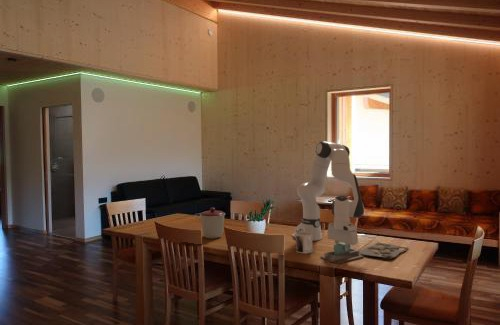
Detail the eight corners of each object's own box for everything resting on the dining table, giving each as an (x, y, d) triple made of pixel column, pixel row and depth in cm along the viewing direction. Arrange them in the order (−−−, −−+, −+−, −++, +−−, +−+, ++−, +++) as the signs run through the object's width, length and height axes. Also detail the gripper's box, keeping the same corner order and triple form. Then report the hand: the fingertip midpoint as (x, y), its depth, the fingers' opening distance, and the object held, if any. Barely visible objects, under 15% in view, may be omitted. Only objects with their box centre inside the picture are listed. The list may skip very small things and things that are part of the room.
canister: (200, 240, 268) (199, 210, 266) (199, 234, 285) (199, 205, 284) (226, 239, 270) (226, 209, 269) (224, 233, 288) (224, 204, 287)
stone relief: (409, 250, 240) (377, 244, 252) (409, 245, 240) (377, 239, 252) (390, 263, 215) (355, 256, 228) (390, 258, 215) (356, 251, 227)
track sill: (320, 258, 224) (320, 252, 224) (345, 252, 235) (345, 246, 235) (338, 264, 212) (338, 257, 212) (363, 257, 223) (363, 251, 223)
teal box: (334, 257, 222) (333, 244, 222) (346, 254, 228) (346, 242, 227) (337, 258, 220) (337, 245, 220) (350, 255, 225) (350, 243, 225)
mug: (314, 249, 242) (314, 231, 241) (312, 255, 230) (312, 236, 230) (297, 248, 245) (297, 231, 244) (294, 254, 233) (294, 235, 232)
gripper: (325, 222, 230) (325, 246, 231) (351, 229, 213) (351, 254, 213) (332, 221, 233) (332, 244, 234) (359, 227, 216) (359, 252, 217)
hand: (342, 249), depth 224 cm, fingers open, 4 cm apart
